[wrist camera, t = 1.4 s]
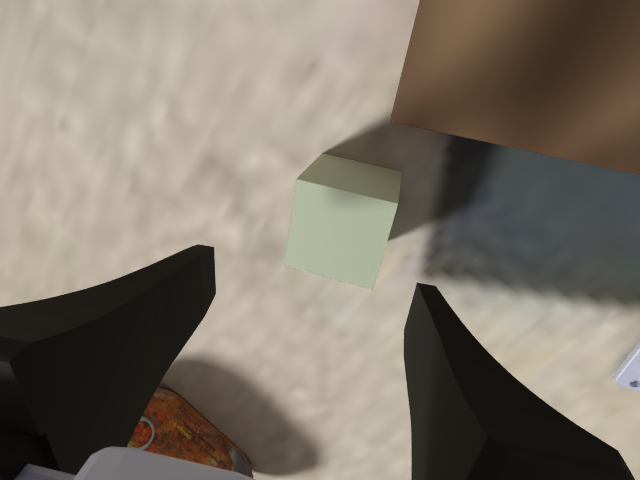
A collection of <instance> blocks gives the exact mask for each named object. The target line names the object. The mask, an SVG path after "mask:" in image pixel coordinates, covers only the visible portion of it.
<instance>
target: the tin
mask: <svg viewBox="0 0 640 480" xmlns="http://www.w3.org/2000/svg"><path fill="white" fill-rule="evenodd" d="M127 447H129V448H135V449H139V450H143V451H148V452H152V453H156V454H161V455H165V456H169V457H173V458H178V459H182V460H186V461H190V462H195V463H199V464H203V465H207V466H212V467H216V468H220V469H224V470H229V471H233V472H237V473H240V474H243V475H245V476H248V477H250V478H253V474H252V470H251V467H250V464H249V462H248V460H247V458H246V456H245V455H244V453H243V452H242V450H241V449H240V448H239V447H238V446H236V445H235V444H234V443H233V442H232V441H231V440H230V439H228V438H227V437H226V436H225V435H224V434H223V433H221V432H220V431H219V430H218V429H217V428H216V427H214V426H213V425H212V424H211V423H210V422H209V421H208V420H206V419H205V418H204V417H203V416H202V415H201V414H200V413H199V412H197V411H196V410H195V409H194V408H193V407H192V406H191V405H189V404H188V403H187V402H186V401H185V400H184V399H183V398H181V397H180V396H179V395H177V394H176V393H174V392H172V391H169V390H166V389H161V388H157V389H156V391H155V393H154V394H153V396H152V398H151V400H150V402H149V404H148V406H147V407H146V409H145V411H144V413H143V415H142V417H141V419H140V421H139V423H138V425H137V427H136V429H135V431H134V433H133V435H132V437H131V439H130V441H129V443H128V445H127Z"/></svg>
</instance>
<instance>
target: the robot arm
mask: <svg viewBox="0 0 640 480" xmlns="http://www.w3.org/2000/svg"><path fill="white" fill-rule="evenodd" d="M215 294H216V285H215V260H214V247H210V246H204V245H195V246H192V247H190V248H187V249H185V250H183V251H180V252H178V253H176V254H174V255H172V256H169V257H167V258H165V259H163V260H161V261H158V262H156V263H154V264H152V265H150V266H147V267H145V268H142V269H140V270H137V271H135V272H133V273H130V274H128V275H125V276H123V277H120V278H117V279H115V280H112V281H109V282H106V283H103V284H100V285H97V286H94V287H90V288H87V289H84V290H80V291H76V292H72V293H68V294H64V295H60V296H56V297H52V298H48V299H43V300H38V301H33V302H28V303H22V304H17V305H11V306H5V307H0V480H255V479H253V478H250V477H248V476H245V475H243V474H240V473H237V472H233V471H229V470H224V469H220V468H216V467H212V466H207V465H203V464H199V463H195V462H190V461H186V460H182V459H178V458H173V457H169V456H165V455H161V454H156V453H152V452H148V451H143V450H139V449H135V448H129V447H127V445H128V443H129V441H130V439H131V437H132V435H133V433H134V431H135V429H136V427H137V425H138V423H139V421H140V419H141V417H142V415H143V413H144V411H145V409H146V407H147V406H148V404H149V402H150V400H151V398H152V396H153V394H154V393H155V391H156V389H157V387H158V385H159V384H160V382H161V380H162V378H163V376H164V375H165V373H166V372H167V370H168V369H169V367H170V365H171V364H172V363H173V361H174V360H175V358H176V357H177V355H178V354H179V353H180V351H181V350H182V348H183V347H184V345H185V344H186V343H187V341H188V340H189V338H190V337H191V335H192V334H193V333H194V331H195V330H196V328H197V327H198V325H199V324H200V322H201V321H202V319H203V318H204V316H205V314H206V313H207V311H208V309H209V307H210V305H211V303H212V301H213V299H214V296H215ZM404 362H405V371H406V380H407V389H408V398H409V407H410V415H411V432H412V480H635V479H634V477H633V475H632V474H631V472H630V470H629V468H628V467H627V465H626V463H625V461H624V460H623V458H622V457H621V455H620V453H619V452H618V450H616V449H614V448H613V447H611V446H610V445H608V444H606V443H605V442H603V441H602V440H600V439H599V438H597V437H595V436H594V435H592V434H591V433H589V432H587V431H586V430H584V429H583V428H581V427H579V426H578V425H576V424H575V423H573V422H572V421H570V420H569V419H568V418H566V417H565V416H563V415H562V414H561V413H559V412H558V411H556V410H555V409H554V408H552V407H551V406H549V405H548V404H547V403H545V402H544V401H543V400H542V399H540V398H539V397H538V396H536V395H535V394H534V393H533V392H531V391H530V390H529V389H528V388H527V387H525V386H524V385H523V384H522V383H520V382H519V381H518V380H517V379H516V378H515V377H513V376H512V375H511V374H510V373H509V372H508V371H507V370H506V369H505V368H504V367H503V366H502V365H501V364H500V363H498V362H497V361H496V360H495V359H494V358H493V357H492V356H491V355H490V354H489V353H488V352H487V351H486V350H485V348H484V347H483V346H482V345H481V344H480V343H479V342H478V341H477V340H476V338H475V337H474V336H473V335H472V334H471V333H470V331H469V330H468V329H467V328H466V327H465V325H464V324H463V323H462V322H461V320H460V319H459V318H458V316H457V315H456V314H455V312H454V311H453V310H452V308H451V307H450V306H449V304H448V303H447V301H446V300H445V299H444V297H443V296H442V294H441V293H440V292H439V290H438V289H437V287H436V286H433V285H427V284H421V283H417V285H416V289H415V292H414V296H413V300H412V303H411V307H410V310H409V314H408V318H407V321H406V325H405V329H404ZM613 379H614V381H615V383H616V384H617V385H618V386H621V387H624V388H628V389H631V390H635V391H638V392H640V341H639V342H638V344H637V345H636V346H635V348H634V349H633V350H632V351H631V353H630V354H629V355H628V357H627V358H626V359H625V360H624V362H623V363H622V364H621V366H620V367H619V368H618V369H617V371H616V372H615V373H614V375H613ZM635 380H636V381H635ZM632 381H635V382H632Z"/></svg>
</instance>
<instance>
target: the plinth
mask: <svg viewBox="0 0 640 480" xmlns="http://www.w3.org/2000/svg"><path fill="white" fill-rule="evenodd" d="M390 122H395V123H400V124H404V125H409V126H414V127H419V128H423V129H428V130H433V131H437V132H442V133H447V134H451V135H456V136H461V137H465V138H470V139H475V140H480V141H484V142H489V143H494V144H498V145H503V146H508V147H512V148H517V149H522V150H526V151H531V152H536V153H540V154H545V155H550V156H555V157H559V158H564V159H569V160H573V161H578V162H583V163H587V164H592V165H597V166H601V167H606V168H611V169H616V170H620V171H625V172H630V173H634V174H639V175H640V0H420V2H419V6H418V10H417V14H416V18H415V22H414V26H413V30H412V34H411V38H410V42H409V46H408V50H407V54H406V58H405V62H404V66H403V70H402V74H401V78H400V82H399V86H398V90H397V94H396V98H395V102H394V106H393V110H392V114H391V119H390Z"/></svg>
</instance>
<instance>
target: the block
mask: <svg viewBox="0 0 640 480" xmlns="http://www.w3.org/2000/svg"><path fill="white" fill-rule="evenodd" d="M401 179H402V171H397V170H393V169H389V168H384V167H380V166H376V165H371V164H367V163H363V162H358V161H354V160H350V159H345V158H341V157H337V156H332V155H328V154H324V153H322V154H321V155H320V156H319V157H318V158H317V159H316V160H315V161H314V162H313V163H312V164H311V165H310V166H309V167H308V168H307V169H306V170H305V171H304V172H303V173H302V174H301V175H300V176H299V177H298V178H297V179H296V184H295V191H294V198H293V205H292V212H291V219H290V226H289V233H288V240H287V247H286V254H285V261H284V266H288V267H291V268H295V269H299V270H302V271H306V272H310V273H313V274H317V275H320V276H324V277H328V278H331V279H335V280H339V281H342V282H346V283H349V284H353V285H357V286H360V287H364V288H368V289H371V290H373V289H374V286H375V282H376V279H377V275H378V272H379V268H380V265H381V261H382V258H383V255H384V251H385V248H386V244H387V241H388V237H389V234H390V230H391V227H392V224H393V220H394V217H395V213H396V210H397V206H398V202H399V194H400V186H401Z"/></svg>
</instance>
